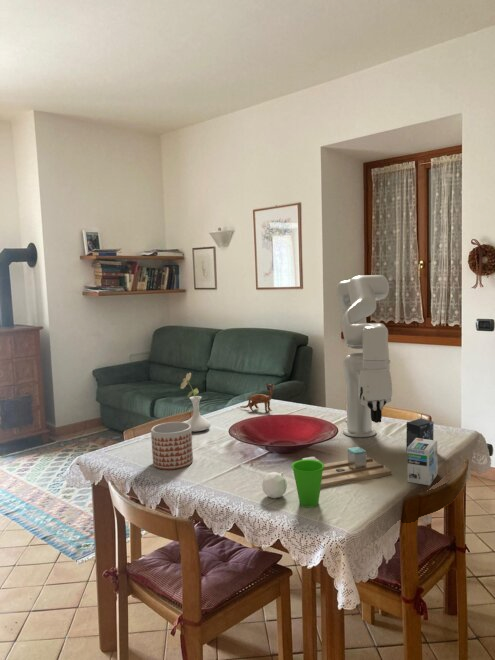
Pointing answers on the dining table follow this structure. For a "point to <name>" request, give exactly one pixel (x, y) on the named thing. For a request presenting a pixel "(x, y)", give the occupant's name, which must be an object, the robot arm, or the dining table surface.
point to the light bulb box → (422, 461)
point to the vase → (172, 445)
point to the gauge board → (350, 472)
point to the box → (419, 430)
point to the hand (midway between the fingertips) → (376, 421)
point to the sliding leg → (356, 457)
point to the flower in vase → (195, 409)
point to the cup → (308, 481)
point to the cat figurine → (260, 399)
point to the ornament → (274, 484)
